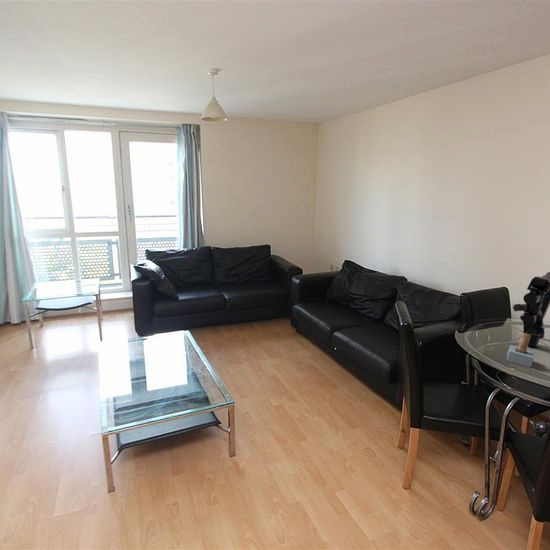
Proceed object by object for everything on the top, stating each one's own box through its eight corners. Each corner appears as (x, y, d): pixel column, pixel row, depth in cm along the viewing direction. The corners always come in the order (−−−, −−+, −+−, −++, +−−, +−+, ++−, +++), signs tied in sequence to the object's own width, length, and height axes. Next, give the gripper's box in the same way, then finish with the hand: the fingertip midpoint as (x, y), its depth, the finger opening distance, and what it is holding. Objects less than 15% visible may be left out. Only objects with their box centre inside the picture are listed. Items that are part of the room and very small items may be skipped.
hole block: (507, 353, 192) (510, 344, 191) (530, 360, 187) (533, 351, 185) (506, 360, 184) (509, 351, 182) (530, 367, 179) (533, 358, 177)
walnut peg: (519, 356, 187) (526, 332, 184) (525, 360, 184) (532, 336, 180) (513, 356, 186) (520, 332, 183) (519, 360, 183) (526, 336, 179)
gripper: (521, 294, 202) (513, 321, 206) (512, 300, 189) (504, 328, 193) (545, 300, 195) (537, 328, 199) (538, 306, 181) (529, 336, 185)
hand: (526, 330), depth 194 cm, fingers open, 9 cm apart
